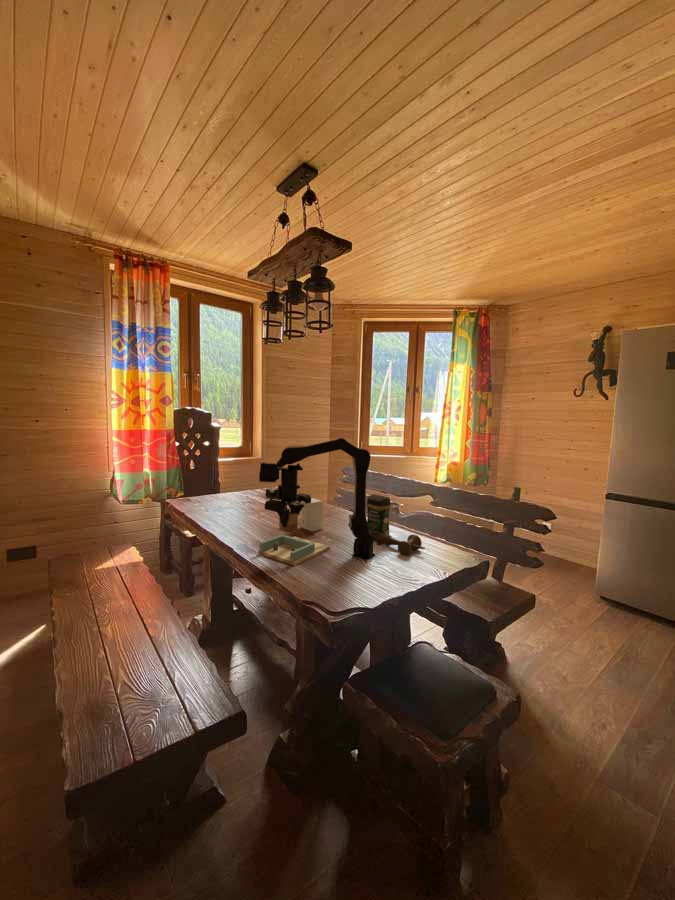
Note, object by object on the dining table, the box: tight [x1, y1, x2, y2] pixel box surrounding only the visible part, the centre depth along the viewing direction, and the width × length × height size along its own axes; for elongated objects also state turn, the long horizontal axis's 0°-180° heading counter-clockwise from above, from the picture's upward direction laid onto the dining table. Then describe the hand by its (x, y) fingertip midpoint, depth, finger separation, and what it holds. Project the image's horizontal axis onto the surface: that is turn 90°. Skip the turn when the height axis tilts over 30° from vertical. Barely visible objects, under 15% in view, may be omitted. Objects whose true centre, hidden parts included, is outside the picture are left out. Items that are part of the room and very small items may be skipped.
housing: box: [259, 534, 315, 561], centre depth 137 cm, size 16×12×3 cm
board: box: [258, 536, 331, 567], centre depth 140 cm, size 18×20×4 cm
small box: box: [301, 497, 324, 533], centre depth 168 cm, size 8×6×13 cm
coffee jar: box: [366, 494, 391, 542], centre depth 155 cm, size 10×8×19 cm
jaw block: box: [278, 512, 299, 533], centre depth 132 cm, size 5×4×6 cm
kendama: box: [375, 533, 426, 557], centre depth 144 cm, size 6×10×20 cm
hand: (288, 525), depth 133 cm, fingers closed on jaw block, 4 cm apart
